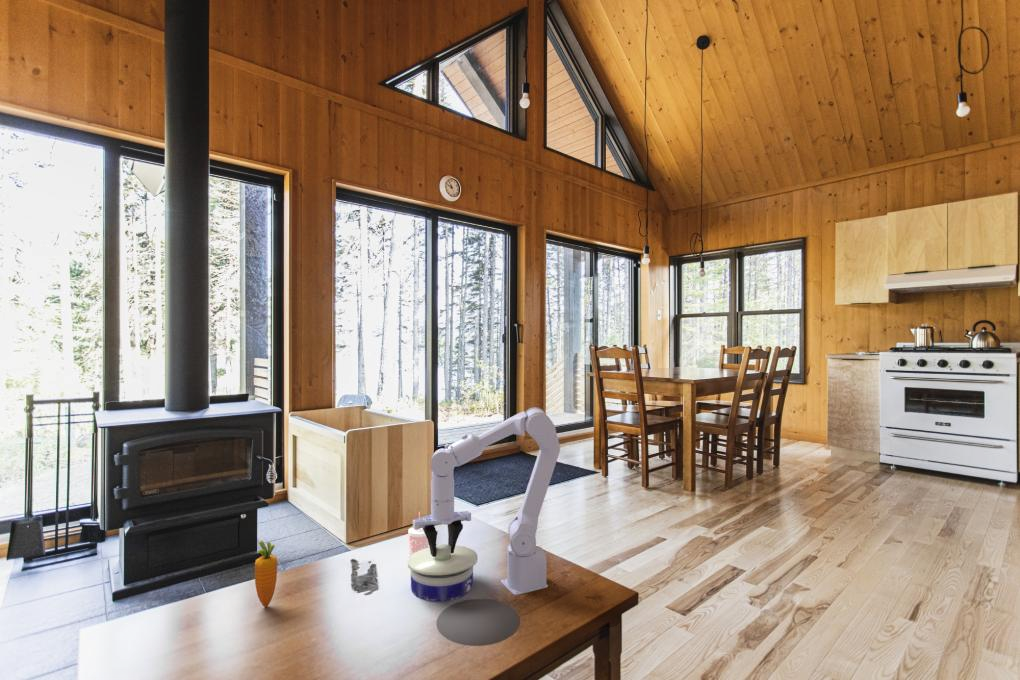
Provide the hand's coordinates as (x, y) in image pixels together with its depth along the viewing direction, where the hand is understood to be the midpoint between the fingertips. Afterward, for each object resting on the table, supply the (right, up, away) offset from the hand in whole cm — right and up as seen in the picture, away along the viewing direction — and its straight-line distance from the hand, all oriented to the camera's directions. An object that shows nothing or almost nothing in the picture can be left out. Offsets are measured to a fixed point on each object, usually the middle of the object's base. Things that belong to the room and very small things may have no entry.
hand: (442, 553), depth 124 cm
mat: (+10, -9, -15) cm, 20 cm away
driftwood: (-20, -9, +5) cm, 23 cm away
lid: (0, -2, -1) cm, 2 cm away
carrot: (-39, -8, -10) cm, 41 cm away
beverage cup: (-8, -9, +14) cm, 18 cm away
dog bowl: (0, -9, 0) cm, 9 cm away
